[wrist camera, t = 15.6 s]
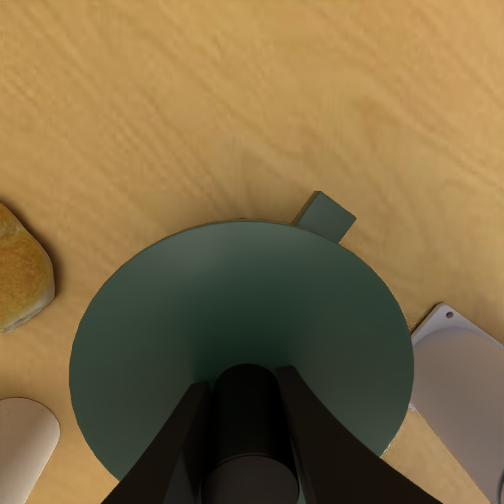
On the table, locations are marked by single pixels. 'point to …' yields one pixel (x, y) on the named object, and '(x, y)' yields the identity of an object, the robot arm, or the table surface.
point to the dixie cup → (24, 446)
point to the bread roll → (21, 274)
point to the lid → (239, 351)
